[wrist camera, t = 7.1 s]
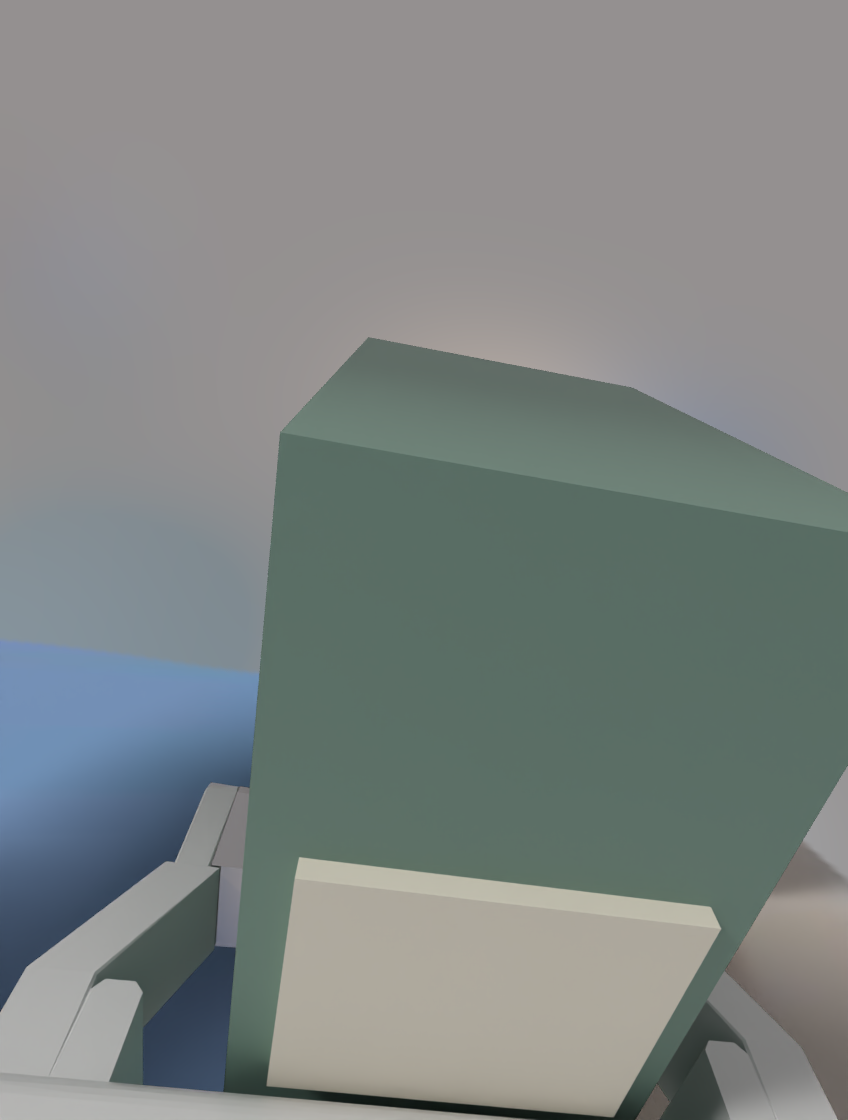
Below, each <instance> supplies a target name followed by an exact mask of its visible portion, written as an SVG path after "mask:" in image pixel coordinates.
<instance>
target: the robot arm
mask: <svg viewBox="0 0 848 1120" xmlns="http://www.w3.org/2000/svg"><path fill="white" fill-rule="evenodd" d="M249 790H250V788H248V787H241V786H240V787H238V786H231V785H225V784H218V783H212V782H211V783H210V784H209V786H208V787H207V788H206V790H205V792H204V794H203V797H202V799H201V801H200V804H199V806H198V809H197V811H196V813H195V816H194V818H193V820H192V823H191V825H190V828H189V830H188V832H187V835H186V837H185V839H184V842H183V844H182V847H181V849H180V851H179V854H178V856H177V858H176V861H175V862H168V861H166V862H164V863H163V864H162V865H160V866H159V867H158V868H156V869H155V870H154V871H152V872H151V873H150V874H148V875H147V876H146V877H144V878H143V879H142V880H141V881H139V882H138V883H137V884H135V885H134V886H133V887H131V888H130V889H129V890H127V891H126V892H125V893H123V894H122V895H121V896H119V897H118V898H117V899H115V900H114V901H113V902H111V903H110V904H109V905H108V906H106V907H105V908H104V909H102V910H101V911H100V912H98V913H97V914H96V915H94V916H93V917H92V918H90V919H89V920H88V921H86V922H85V923H84V924H82V925H81V926H80V927H79V928H77V929H76V930H75V931H73V932H72V933H71V934H69V935H68V936H67V937H65V938H64V939H63V940H61V941H60V942H59V943H57V944H56V945H55V946H53V947H52V948H51V949H49V950H48V951H47V952H46V953H44V954H43V955H42V956H40V957H39V958H38V959H36V960H35V961H34V962H32V963H31V964H30V965H28V966H27V967H26V969H25V970H24V972H23V974H22V976H21V977H20V979H19V981H18V982H17V984H16V986H15V988H14V989H13V991H12V993H11V995H10V996H9V998H8V1000H7V1002H6V1003H5V1005H4V1007H3V1008H2V1010H1V1012H0V1120H533V1119H522V1118H511V1117H500V1116H488V1115H477V1114H466V1113H454V1112H443V1111H431V1110H420V1109H409V1108H397V1107H386V1106H374V1105H363V1104H352V1103H340V1102H329V1101H317V1100H306V1099H295V1098H284V1097H272V1096H261V1095H250V1094H238V1093H227V1092H216V1091H205V1090H193V1089H182V1088H171V1087H159V1086H148V1085H143V1027H144V1026H145V1025H146V1024H147V1023H148V1022H149V1021H150V1020H151V1019H152V1017H153V1016H154V1015H155V1014H156V1013H157V1012H158V1011H159V1010H160V1009H161V1008H162V1006H163V1005H164V1004H165V1003H166V1002H167V1001H168V1000H169V999H170V998H171V997H172V995H173V994H174V993H175V992H176V991H177V990H178V989H179V988H180V987H181V986H182V984H183V983H184V982H185V981H186V980H187V979H188V978H189V977H190V976H191V975H192V973H193V972H194V971H195V970H196V969H197V968H198V967H199V966H200V965H201V964H202V962H203V961H204V960H205V959H206V958H207V957H208V956H209V955H210V954H211V953H212V951H213V950H214V946H222V947H235V948H236V941H237V930H238V918H239V906H240V895H241V883H242V872H243V860H244V848H245V837H246V825H247V813H248V802H249ZM657 1084H658V1085H659V1087H660V1088H661V1090H662V1091H663V1093H664V1094H665V1095H666V1097H667V1098H668V1100H669V1101H670V1104H669V1105H668V1107H667V1108H666V1110H665V1112H664V1113H663V1115H662V1116H661V1118H660V1120H838V1119H837V1117H836V1115H835V1113H834V1111H833V1109H832V1107H831V1105H830V1103H829V1101H828V1099H827V1097H826V1095H825V1093H824V1091H823V1089H822V1087H821V1085H820V1083H819V1081H818V1079H817V1077H816V1075H815V1073H814V1071H813V1069H812V1067H811V1065H810V1063H809V1061H808V1059H807V1057H806V1055H805V1053H804V1051H803V1049H802V1047H801V1046H800V1045H799V1044H798V1043H797V1042H796V1041H795V1040H794V1039H793V1038H792V1037H791V1036H790V1035H789V1034H788V1033H787V1032H786V1031H785V1030H784V1029H783V1028H782V1027H781V1026H780V1025H779V1024H778V1023H777V1022H776V1021H775V1020H774V1019H773V1018H772V1017H771V1016H770V1015H769V1014H768V1013H767V1012H766V1011H764V1010H763V1009H762V1008H761V1007H760V1006H759V1005H758V1004H757V1003H756V1002H755V1001H754V1000H753V999H752V998H751V997H750V996H749V995H748V994H747V993H746V992H745V991H744V990H743V989H742V988H741V987H740V986H739V985H738V984H737V983H736V982H735V981H734V980H733V979H732V978H731V977H730V976H729V975H728V974H727V973H726V972H725V971H724V972H723V974H722V976H721V977H720V979H719V981H718V982H717V984H716V986H715V987H714V989H713V991H712V992H711V994H710V996H709V997H708V999H707V1001H706V1002H705V1004H704V1006H703V1007H702V1009H701V1011H700V1012H699V1014H698V1016H697V1017H696V1019H695V1021H694V1022H693V1024H692V1026H691V1027H690V1029H689V1031H688V1032H687V1034H686V1036H685V1037H684V1039H683V1041H682V1042H681V1044H680V1046H679V1047H678V1049H677V1051H676V1052H675V1054H674V1056H673V1057H672V1059H671V1061H670V1062H669V1064H668V1066H667V1067H666V1069H665V1071H664V1072H663V1074H662V1076H661V1077H660V1079H659V1081H658V1082H657Z"/></svg>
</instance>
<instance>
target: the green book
mask: <svg viewBox="0 0 848 1120" xmlns="http://www.w3.org/2000/svg"><path fill="white" fill-rule="evenodd" d="M276 477H277V478H276V488H275V499H274V511H273V524H272V536H271V546H270V557H269V569H268V581H267V592H266V605H265V617H264V627H263V640H262V651H261V662H260V674H259V685H258V697H257V709H256V720H255V732H254V744H253V755H252V767H251V778H250V790H249V802H248V813H247V825H246V837H245V848H244V860H243V872H242V883H241V895H240V906H239V918H238V930H237V941H236V953H235V965H234V976H233V988H232V999H231V1011H230V1023H229V1034H228V1046H227V1058H226V1069H225V1081H224V1092H227V1093H238V1094H250V1095H261V1096H272V1097H284V1098H295V1099H306V1100H317V1101H329V1102H340V1103H352V1104H363V1105H374V1106H386V1107H397V1108H409V1109H420V1110H431V1111H443V1112H454V1113H466V1114H477V1115H488V1116H500V1117H511V1118H522V1119H533V1120H635V1119H636V1117H637V1116H638V1114H639V1112H640V1111H641V1109H642V1107H643V1106H644V1104H645V1102H646V1101H647V1099H648V1097H649V1096H650V1094H651V1092H652V1091H653V1089H654V1087H655V1086H656V1084H657V1082H658V1081H659V1079H660V1077H661V1076H662V1074H663V1072H664V1071H665V1069H666V1067H667V1066H668V1064H669V1062H670V1061H671V1059H672V1057H673V1056H674V1054H675V1052H676V1051H677V1049H678V1047H679V1046H680V1044H681V1042H682V1041H683V1039H684V1037H685V1036H686V1034H687V1032H688V1031H689V1029H690V1027H691V1026H692V1024H693V1022H694V1021H695V1019H696V1017H697V1016H698V1014H699V1012H700V1011H701V1009H702V1007H703V1006H704V1004H705V1002H706V1001H707V999H708V997H709V996H710V994H711V992H712V991H713V989H714V987H715V986H716V984H717V982H718V981H719V979H720V977H721V976H722V974H723V972H724V971H725V969H726V967H727V966H728V964H729V962H730V961H731V959H732V957H733V956H734V954H735V952H736V951H737V949H738V947H739V946H740V944H741V942H742V941H743V939H744V937H745V936H746V934H747V932H748V931H749V929H750V927H751V926H752V924H753V922H754V921H755V919H756V917H757V916H758V914H759V912H760V911H761V909H762V907H763V906H764V904H765V902H766V901H767V899H768V897H769V896H770V894H771V892H772V891H773V889H774V887H775V886H776V884H777V882H778V881H779V879H780V877H781V876H782V874H783V872H784V871H785V869H786V867H787V866H788V864H789V862H790V861H791V859H792V857H793V856H794V854H795V852H796V851H797V849H798V847H799V846H800V844H801V842H802V841H803V839H804V837H805V836H806V834H807V832H808V831H809V829H810V827H811V826H812V824H813V822H814V821H815V819H816V817H817V816H818V814H819V812H820V811H821V809H822V807H823V806H824V804H825V802H826V801H827V799H828V797H829V796H830V794H831V792H832V791H833V789H834V787H835V786H836V784H837V782H838V781H839V779H840V777H841V776H842V774H843V772H844V771H845V769H846V767H847V766H848V493H847V492H845V491H842V490H841V489H839V488H837V487H834V486H833V485H830V484H829V483H826V482H824V481H822V480H820V479H818V478H816V477H814V476H812V475H810V474H808V473H806V472H804V471H802V470H800V469H798V468H796V467H794V466H792V465H790V464H788V463H785V462H783V461H781V460H779V459H777V458H775V457H773V456H771V455H769V454H767V453H765V452H763V451H761V450H759V449H756V448H755V447H753V446H751V445H748V444H746V443H744V442H742V441H740V440H738V439H736V438H734V437H732V436H730V435H728V434H726V433H724V432H722V431H720V430H718V429H716V428H714V427H712V426H710V425H707V424H706V423H704V422H701V421H699V420H697V419H695V418H693V417H691V416H689V415H687V414H685V413H683V412H681V411H679V410H677V409H675V408H673V407H671V406H669V405H667V404H664V403H663V402H660V401H658V400H656V399H654V398H652V397H650V396H648V395H646V394H644V393H642V392H640V391H638V390H636V389H634V388H631V387H626V386H621V385H615V384H610V383H605V382H600V381H595V380H589V379H584V378H579V377H574V376H568V375H563V374H557V373H553V372H547V371H542V370H537V369H531V368H526V367H521V366H516V365H510V364H505V363H500V362H495V361H489V360H484V359H479V358H474V357H469V356H464V355H458V354H453V353H448V352H443V351H437V350H432V349H427V348H421V347H416V346H411V345H406V344H400V343H395V342H390V341H385V340H380V339H374V338H367V340H366V341H365V342H364V343H363V344H362V345H361V346H360V347H359V348H358V349H357V350H356V352H355V353H354V354H353V355H352V356H351V357H350V358H349V359H348V360H347V361H346V362H345V363H344V364H343V365H342V366H341V368H340V369H339V370H338V371H337V372H336V373H335V374H334V375H333V376H332V377H331V378H330V379H329V380H328V382H327V383H326V384H325V385H324V386H323V387H322V388H321V389H320V390H319V391H318V392H317V393H316V394H315V395H314V397H313V398H312V399H311V400H310V401H309V402H308V403H307V404H306V405H305V406H304V407H303V408H302V410H301V411H300V412H299V413H298V414H297V415H296V416H295V417H294V418H293V419H292V420H291V421H290V422H289V424H288V425H287V426H286V427H285V428H284V429H283V430H282V431H281V432H280V441H279V453H278V464H277V476H276Z"/></svg>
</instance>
